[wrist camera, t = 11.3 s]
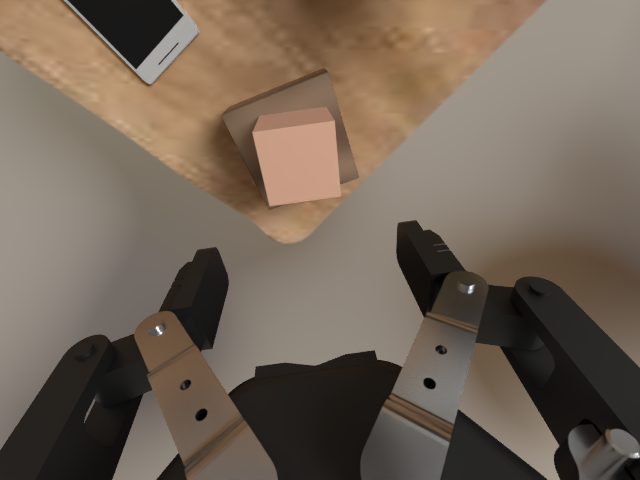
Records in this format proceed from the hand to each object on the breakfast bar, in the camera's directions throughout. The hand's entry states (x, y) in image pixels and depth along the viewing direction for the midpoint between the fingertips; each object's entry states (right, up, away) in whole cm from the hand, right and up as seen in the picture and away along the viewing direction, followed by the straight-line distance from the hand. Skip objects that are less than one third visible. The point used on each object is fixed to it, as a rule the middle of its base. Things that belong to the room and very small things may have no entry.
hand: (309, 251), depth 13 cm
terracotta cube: (-2, +9, +15) cm, 18 cm away
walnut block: (-2, +12, +19) cm, 23 cm away
